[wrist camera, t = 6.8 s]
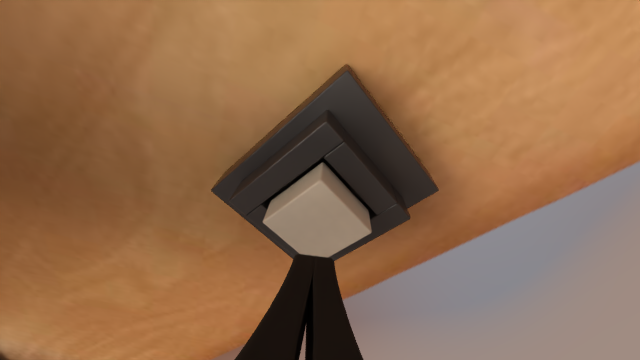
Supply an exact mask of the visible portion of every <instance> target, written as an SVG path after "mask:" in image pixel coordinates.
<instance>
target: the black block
mask: <svg viewBox="0 0 640 360" xmlns="http://www.w3.org/2000/svg"><path fill="white" fill-rule="evenodd" d="M322 162H324V163H325V164H326V165H327V166H328V167H329V169H330V170H331V171H332V172H333V173H334V174H335V175H336V176H337V177H338V178H339V179H340V180H341V181H342V182H343V184H344V185H345V186H346V187H347V188H348V189H349V190H350V191H351V192H352V193H353V194H354V195H355V196H356V197H357V198H358V200H359V201H360V202H361V203H362V204H363V205H364V206H365V207H366V208H367V209H368V211H369V218H370V224H371V230H372V232H371V233H370V234H369V235H367V236H365V237H363V238H361V239H360V240H358V241H356V242H354V243H353V244H351V245H349V246H347V247H346V248H344V249H342V250H340V251H339V252H337V253H335V254H333V255H332V256H330V257H328V258H332V259H333V260H334V261H335V260H337V259H339V258H340V257H342V256H344V255H346V254H348V253H349V252H351V251H353V250H355V249H357V248H358V247H360V246H362V245H364V244H366V243H367V242H369V241H371V240H373V239H375V238H376V237H378V236H380V235H382V234H384V233H385V232H387V231H389V230H391V229H393V228H394V227H396V226H398V225H400V224H402V223H403V222H405V221H407V220H409V219H410V215H409V213H408V210H407V208H409V207H411V206H413V205H414V204H416V203H418V202H420V201H421V200H423V199H425V198H427V197H428V196H430V195H432V194H434V193H435V192H437V191H438V190H439V189H438V187H437V186H436V184H435V182H434V181H433V179H432V177H431V176H430V174H429V173H428V171H427V170H426V168H425V167H424V166H423V164H422V163H421V162H420V160H419V159H418V158H417V156H416V155H415V154H414V152H413V151H412V150H411V148H410V147H409V146H408V144H407V143H406V142H405V140H404V139H403V138H402V136H401V135H400V134H399V132H398V131H397V130H396V128H395V127H394V126H393V124H392V123H391V122H390V120H389V119H388V118H387V117H386V115H385V114H384V113H383V111H382V110H381V109H380V107H379V106H378V105H377V103H376V102H375V101H374V99H373V98H372V97H371V95H370V94H369V93H368V91H367V90H366V89H365V87H364V86H363V85H362V83H361V82H360V81H359V79H358V78H357V77H356V75H355V74H354V73H353V71H352V70H351V69H350V67H349V66H348V65H347V64H345V65H344V66H343V67H342V68H341V69H340V70H339V71H338V72H336V73H335V74H334V75H333V76H332V77H331V78H330V79H329V80H327V81H326V82H325V83H324V84H323V85H322V86H321V87H320V88H319V89H317V90H316V91H315V92H314V93H313V94H312V95H311V96H310V97H308V98H307V99H306V100H305V101H304V102H303V103H302V104H301V105H300V106H298V107H297V108H296V109H295V110H294V111H293V112H292V113H291V114H289V115H288V116H287V117H286V118H285V119H284V120H283V121H282V122H281V123H279V124H278V125H277V126H276V127H275V128H274V129H273V130H272V131H270V132H269V133H268V134H267V135H266V136H265V137H264V138H263V139H262V140H260V141H259V142H258V143H257V144H256V145H255V146H254V147H253V148H251V149H250V150H249V151H248V152H247V153H246V154H245V155H244V156H243V157H241V158H240V159H239V160H238V161H237V162H236V163H235V164H234V165H232V166H231V167H230V168H229V169H228V170H227V171H226V172H225V173H224V174H223V175H222V177H221V178H220V179H219V180H218V182H217V183H216V184H215V185H214V187H213V188H212V189H211V191H212V192H213V193H214V194H215V195H217V196H218V197H219V198H220V199H221V200H223V201H224V202H225V203H226V204H227V205H229V206H230V207H231V208H232V209H234V210H235V211H236V212H237V213H238V214H240V215H241V216H242V217H243V218H244V219H246V220H247V221H248V222H249V223H250V224H252V225H253V226H254V227H255V228H256V229H258V230H259V231H260V232H261V233H263V234H264V235H265V236H266V237H267V238H269V239H270V240H271V241H272V242H273V243H275V244H276V245H277V246H278V247H279V248H281V249H282V250H283V251H284V252H285V253H287V254H288V255H289V256H290V257H292V258H293V259H294V256H295V255H297V254H299V253H298V252H297V251H296V250H295V249H294V248H292V247H291V246H290V245H289V244H288V243H286V242H285V241H284V240H283V239H282V238H281V237H279V236H278V235H277V234H276V233H275V232H274V231H272V230H271V229H270V228H269V227H268V226H266V225H265V224H264V223H263V219H264V217H265V214H266V212H267V209H268V207H269V204H270V202H271V200H273V199H274V198H275V197H277V196H278V195H279V194H281V193H282V192H283V191H285V190H286V189H287V188H289V187H290V186H291V185H293V184H294V183H295V182H296V181H298V180H299V179H300V178H302V177H303V176H304V175H306V174H307V173H308V172H310V171H311V170H312V169H314V168H315V167H316V166H318V165H319V164H320V163H322Z"/></svg>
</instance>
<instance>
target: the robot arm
mask: <svg viewBox="0 0 640 360" xmlns="http://www.w3.org/2000/svg"><path fill="white" fill-rule="evenodd" d="M305 326H306V352H305V360H363V358H362V355H361V353H360V350H359V348H358V345H357V343H356V340H355V337H354V334H353V331H352V329H351V326H350V323H349V320H348V317H347V314H346V310H345V307H344V304H343V301H342V297H341V294H340V290H339V286H338V281H337V277H336V272H335V265H334V260H333V259H332V258H328V257H320V256H312V255H304V254H297V255H295V256H294V259H293V262H292V265H291V267H290V270H289V272H288V274H287V276H286V278H285V280H284V282H283V284H282V286H281V288H280V290H279V292H278V293H277V295H276V297H275V299H274V301H273V302H272V304H271V306H270V308H269V309H268V311H267V312H266V314H265V316H264V317H263V319H262V320H261V322H260V323H259V325H258V327H257V328H256V330H255V331H254V333H253V334H252V336H251V337H250V339H249V340H248V342H247V343H246V345H245V346H244V347H243V349H242V350H241V352H240V353H239V355H238V356H237V357H236V359H235V360H299V356H300V351H301V346H302V341H303V336H304V331H305Z"/></svg>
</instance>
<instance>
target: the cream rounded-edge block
mask: <svg viewBox="0 0 640 360" xmlns="http://www.w3.org/2000/svg"><path fill="white" fill-rule="evenodd" d="M263 223H264V224H265V225H266V226H268V227H269V228H270V229H271V230H272V231H274V232H275V233H276V234H277V235H278V236H279V237H281V238H282V239H283V240H284V241H285V242H286V243H288V244H289V245H290V246H291V247H292V248H294V249H295V250H296V251H297V252H298V253H299V254H304V255H312V256H320V257H330V256H332V255H333V254H335V253H337V252H339V251H340V250H342V249H344V248H346V247H347V246H349V245H351V244H353V243H354V242H356V241H358V240H360V239H361V238H363V237H365V236H367V235H369V234H370V233H371V232H372V230H371V224H370V218H369V211H368V209H367V208H366V207H365V206H364V205H363V204H362V203H361V202H360V201H359V200H358V198H357V197H356V196H355V195H354V194H353V193H352V192H351V191H350V190H349V189H348V188H347V187H346V186H345V185H344V184H343V182H342V181H341V180H340V179H339V178H338V177H337V176H336V175H335V174H334V173H333V172H332V171H331V170H330V169H329V167H328V166H327V165H326V164H325V163H324V162H322V163H320V164H319V165H318V166H316V167H315V168H314V169H312V170H311V171H310V172H308V173H307V174H306V175H304V176H303V177H302V178H300V179H299V180H298V181H296V182H295V183H294V184H293V185H291V186H290V187H289V188H287V189H286V190H285V191H283V192H282V193H281V194H279V195H278V196H277V197H275V198H274V199H273V200H271V202H270V204H269V207H268V209H267V212H266V214H265V217H264V219H263Z"/></svg>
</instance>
